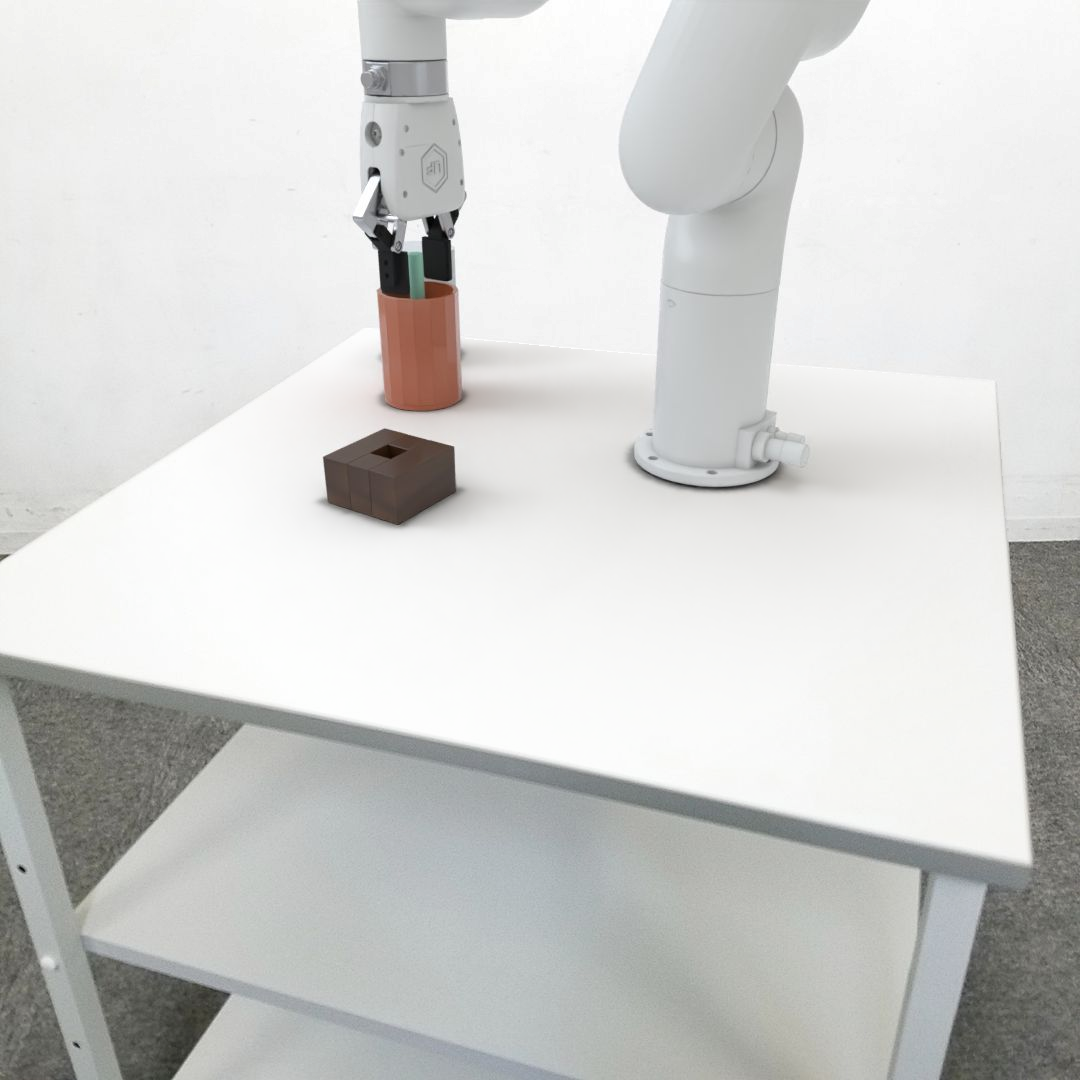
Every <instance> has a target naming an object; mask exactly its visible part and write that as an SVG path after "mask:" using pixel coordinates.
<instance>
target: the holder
mask: <svg viewBox="0 0 1080 1080" xmlns="http://www.w3.org/2000/svg"><path fill="white" fill-rule="evenodd" d="M455 454H456V453H455V446H454V445H452V444H451V445H450V444H447V443H443V442H439V441H435V440H431V439H426V438H423V437H419V436H417V435H416V436H415V435H412V434H408V433H405V432H402V431H401V432H400V431H397V430H393V429H389V428H385V427H384V428H382V429H379V430H378V431H375V432H373V433H371V434H369V435H366V436H364V437H362V438H360V439H357V440H355V441H353V442H352V443H349V444H347V445H345V446H343V447H340V448H339V449H336V450H334V451H332V452H330V453H327V454H326V455H323V456H322V463H323V473H324V480H325V482H324V483H325V490H326V501H327V503H329V504H332V505H335V506H339V507H342V508H345V509H348V510H351V511H354V512H357V513H360V514H363V515H366V516H370V517H373V518H376V519H379V520H381V521H385V522H388V523H391V524H395V525H400V524H402V523H403V522H405V521H407V520H410V518H412V517H414V516H415V515H417V514H419V513H421V512H423V511H424V510H426V509H427V508H429V507H431V506H433V505H435V504H436V503H438V502H440V501H442V500H443V499H445V498H447V497H448V496H450V495H452V494H454V493H456V492H457V479H456V477H457V476H456V458H455V456H456V455H455Z"/></svg>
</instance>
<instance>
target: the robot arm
mask: <svg viewBox="0 0 1080 1080" xmlns="http://www.w3.org/2000/svg"><path fill="white" fill-rule="evenodd" d="M549 1H550V0H357V1H356V2H357V15H358V28H359V29H358V30H359V43H360V52H361V53H360V55H361V71H362V73H361V75H360V84H361V86H362V87H363V97H364V99H363V100H364V101H362V105H361V111H360V127H359V130H360V131H359V173H360V174H359V177H360V190H361V196H360V198H359V200H358V202H357V205H356V207H355V209H354V211H353V212H352V213H353V214H352V221H353V222H354V223H355V224H356V225H357V227H358V228H359V229H360V230H362V232H364V235H365V236H366V237H367V239H368V240H369V241H370V242H371V246H372V249H373V250H375V251H377V258H378V259H377V260H378V261H377V262H378V272H379V273H378V274H379V275H378V276H379V286H380V287H379V288H381V290H382V291H383V292H386V293H392V294H397V295H403V296H405V295H408V294H409V293H410V278H409V261H408V252H406V251H402V249H403V244H404V242H405V237H406V231H407V227H408V226H407V225H408V222H411V221H417V220H421V221H422V225H423V228H424V232H425V235H424V236H421V241H422V253H423V269H424V277H425V278H427V279H433V280H439V281H445V282H448V281H451V280H452V257H451V245H452V239H454V237H455V235H456V234H455V233H456V230H455V225H456V223H457V221H458V219H459V216H460V211H461V210H462V208H463V206H464V204H465V202H466V200H467V197H468V196H467V195H468V194H467V191H466V186H465V170H464V169H465V168H464V158H463V157H464V156H463V147H462V138H461V130H460V125H459V118H458V115H457V114H458V113H457V109H456V106H455V102H454V98H453V97H452V96H451V97H450V96H449V95H450V94H449V93H450V91H449V89H450V88H449V66H448V65H449V64H448V43H447V41H448V40H447V20H453V21H455V20H456V21H463V20H464V21H469V20H470V21H471V20H472V21H473V20H475V21H476V20H484V19H485V20H486V19H517V18H522V17H526V16H528V15H530V14H532V13H534V12H535V11H538V9H540V8H542V7H543V6H544V5H545V4H547V3H548V2H549ZM870 2H871V0H671V1H670V3H669V5H668V8H667V10H666V12H665V15H664V17H663V19H662V21H661V23H660V26H659V29H658V30H657V33H656V35H655V37H654V40H653V42H652V45H651V47H650V49H649V51H648V53H647V56H646V58H645V60H644V62H643V65H642V67H641V70H640V72H639V74H638V76H637V79H636V81H635V83H634V86H633V88H632V90H631V93H630V95H629V98H628V101H627V103H626V105H625V109H624V112H623V115H622V119H621V122H620V127H619V133H618V146H617V147H618V158H619V165H620V169H621V172H622V176H623V178H624V180H625V182H626V184H627V186H628V189H629V190H630V191H631V192H632V194H633V195H634V196H635V198H637V199H638V200H639V201H640V202H641V203H642V204H643V205H645V206H646V207H647V208H649V209H651V210H653V211H656V212H658V213H662V214H665V215H668V218H667V222H666V227H665V232H664V233H665V234H664V239H663V240H664V241H663V248H662V261H661V275H660V276H661V277H660V287H659V305H658V325H657V344H656V362H655V364H656V365H655V379H654V380H655V381H654V401H653V417H652V418H653V419H652V428H650V429H648V430H646V431H645V432H643V433H642V434H640V435H639V436H638V437H637V438H636V439H635V441H634V446H633V457H634V460H635V461H636V464H638V465H639V466H640V467H641V468H642V469H643V470H645V471H646V472H648V473H649V474H651V475H654V476H655V477H658V478H660V479H662V480H666V481H670V482H672V483H678V484H682V485H687V486H694V487H695V486H696V487H710V488H721V487H738V486H743V485H744V486H745V485H749V484H751V483H756V482H759V481H762V480H764V479H765V478H767V477H769V476H771V475H772V474H773V473H775V471H777V469H778V467H779V464H780V462H781V463H782V464H785V465H789V466H794V467H797V468H804V467H805V466H806V464H807V462H808V460H809V456H810V445H809V444H806V435H804V434H798V433H794V432H785V431H781V430H780V427H778V426H776V422H777V415H778V412H777V411H774V410H768V409H767V403H768V395H769V384H770V376H771V366H772V357H773V347H774V339H775V328H776V320H777V309H778V299H779V289H780V285H781V278H782V270H783V260H784V251H785V244H786V236H787V230H788V225H789V219H790V212H791V209H792V203H793V199H794V195H795V190H796V186H797V181H798V176H799V171H800V167H801V162H802V157H803V151H804V150H803V149H804V141H805V140H804V139H805V138H804V137H805V134H804V133H805V129H804V120H803V114H802V110H801V106H800V103H799V101H798V99H797V97H796V95H795V93H794V91H793V89H792V88H791V86H789V85H788V84H789V81H790V80H791V78H792V76H793V74H794V73H795V71H796V69H797V67H798V65H799V64H800V62H805V61H809V60H812V59H816V58H819V57H822V56H825V55H827V54H829V53H830V52H832V51H833V50H835V49H837V48H838V47H840V46H841V45H842V44H843V43H844V42H845V41H846V40H847V39H848V38H849V37H850V36H851V35H852V34H853V32H854V30H855V29H856V27H857V26H858V25H859V23H860V21H861V19H862V18H863V16H864V14H865V12H866V10H867V8H868V6H869V4H870ZM389 224H392V225H393V226H392V232H391V231H390V230H389V229H388V227H389ZM426 235H427V236H426Z"/></svg>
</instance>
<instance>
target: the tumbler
mask: <svg viewBox="0 0 1080 1080" xmlns="http://www.w3.org/2000/svg"><path fill="white" fill-rule="evenodd" d="M424 288H425V298H423V299H411V297H410V293H409V294H408V295H405V296H403V295H397V294H392V293H386V292H383V291H382V290H381V288H380V287H379V288H377V289H376V304H377V316H378V318H377V319H378V330H379V331H378V332H379V343H380V345H379V346H380V357H381V358H380V359H381V373H382V381H383V382H382V384H383V394H384V401H385V403H387V405H389V406H390V407H393V408H396V409H399V410H404V411H411V412H413V411H415V412H427V411H434V410H436V411H437V410H440V409H442V410H443V409H445V408H449V407H451V406H455V404H458V403H459V402H460V401H461V400H462V396H463V394H462V393H463V379H462V378H463V376H462V352H461V351H462V350H461V349H462V348H461V326H460V324H461V323H460V322H461V321H460V297H459V288H458V286H457V285H456V286H455V285H452V284H450V283H446V282H440V281H430V280H424Z"/></svg>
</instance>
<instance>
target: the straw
mask: <svg viewBox="0 0 1080 1080" xmlns="http://www.w3.org/2000/svg"><path fill="white" fill-rule="evenodd" d="M408 261H409V278H410V297H411V299H423V298H425V288H424V269H423V253H422V252H410V253H408Z"/></svg>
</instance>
